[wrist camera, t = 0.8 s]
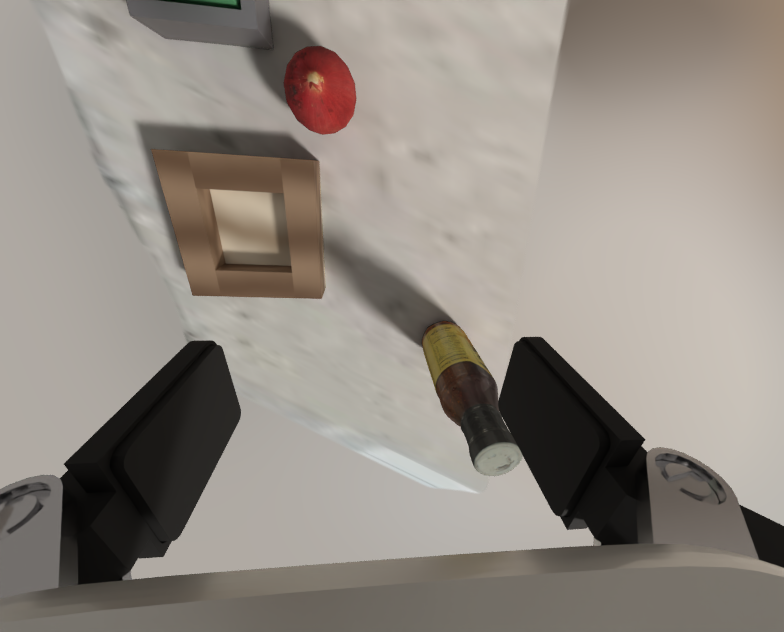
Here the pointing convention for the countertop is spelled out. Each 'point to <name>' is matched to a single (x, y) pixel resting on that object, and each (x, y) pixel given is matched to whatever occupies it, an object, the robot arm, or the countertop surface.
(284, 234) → the open box
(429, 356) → the sauce bottle
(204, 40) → the button housing
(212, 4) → the button
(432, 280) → the countertop surface
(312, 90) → the onion
